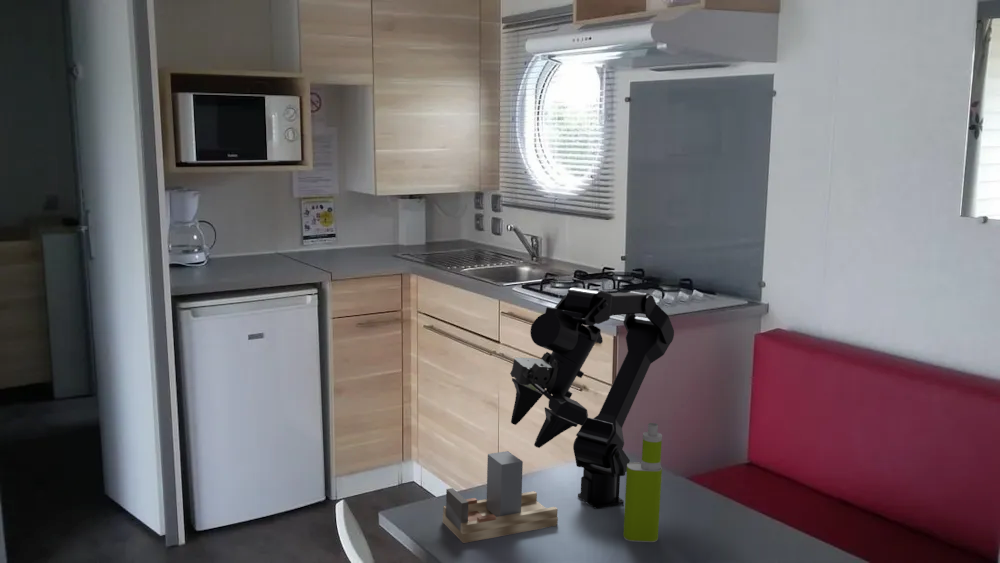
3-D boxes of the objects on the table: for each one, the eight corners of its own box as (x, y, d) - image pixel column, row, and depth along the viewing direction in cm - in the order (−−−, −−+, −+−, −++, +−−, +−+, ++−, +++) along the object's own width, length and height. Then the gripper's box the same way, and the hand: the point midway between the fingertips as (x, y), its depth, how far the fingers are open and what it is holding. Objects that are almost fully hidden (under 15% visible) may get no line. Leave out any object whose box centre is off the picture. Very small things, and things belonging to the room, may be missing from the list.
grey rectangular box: (506, 504, 157) (508, 451, 156) (520, 516, 152) (522, 461, 151) (486, 508, 156) (487, 453, 154) (500, 520, 151) (501, 464, 149)
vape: (660, 542, 148) (666, 428, 145) (624, 541, 149) (630, 427, 146) (657, 532, 152) (663, 421, 149) (622, 531, 152) (628, 420, 149)
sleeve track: (533, 506, 162) (534, 472, 161) (557, 525, 154) (558, 490, 153) (442, 522, 154) (443, 486, 153) (463, 543, 146) (464, 506, 145)
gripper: (509, 322, 157) (467, 398, 157) (559, 360, 141) (512, 445, 141) (555, 345, 162) (514, 418, 163) (608, 384, 146) (563, 465, 147)
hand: (524, 435), depth 153 cm, fingers open, 9 cm apart
